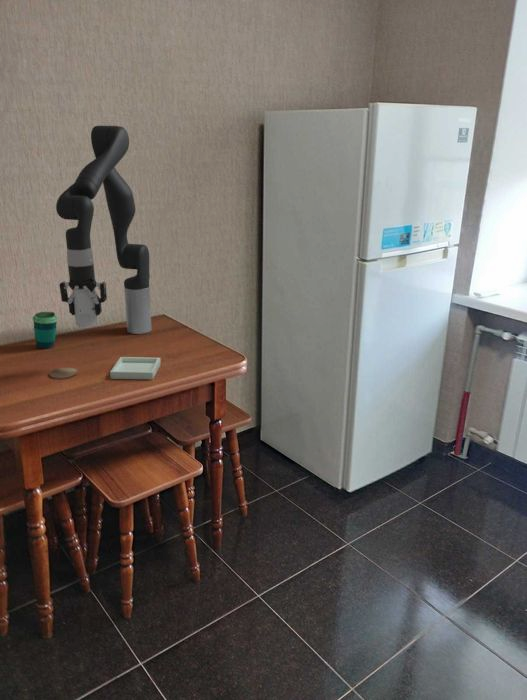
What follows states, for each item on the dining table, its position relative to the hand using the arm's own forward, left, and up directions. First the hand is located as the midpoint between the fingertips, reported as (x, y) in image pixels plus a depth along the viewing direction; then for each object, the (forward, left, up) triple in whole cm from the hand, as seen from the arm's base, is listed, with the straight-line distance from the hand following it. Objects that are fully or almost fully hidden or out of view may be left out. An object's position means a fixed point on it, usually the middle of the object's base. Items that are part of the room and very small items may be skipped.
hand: (85, 314), depth 179 cm
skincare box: (0, 0, -4) cm, 4 cm away
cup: (-17, -20, -17) cm, 31 cm away
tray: (+5, +16, -17) cm, 24 cm away
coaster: (+8, -6, -17) cm, 20 cm away
